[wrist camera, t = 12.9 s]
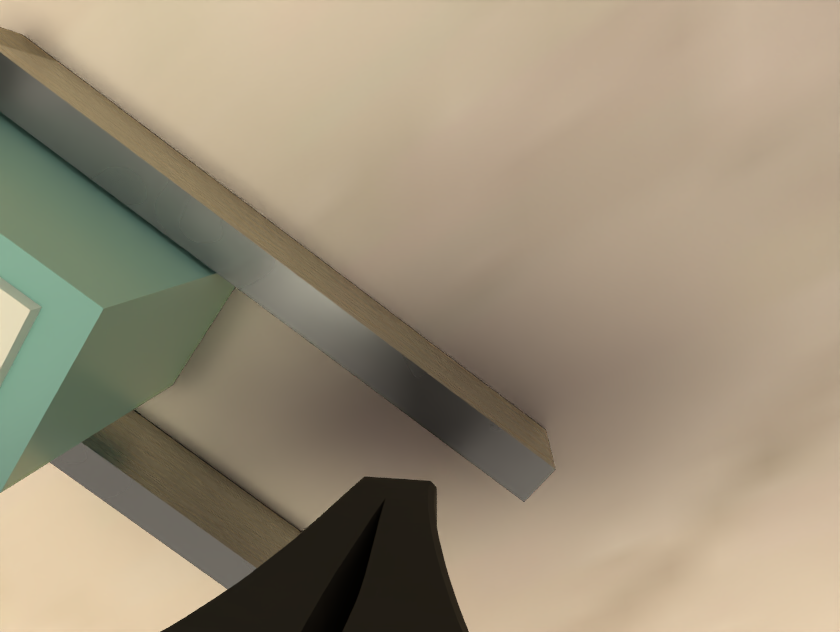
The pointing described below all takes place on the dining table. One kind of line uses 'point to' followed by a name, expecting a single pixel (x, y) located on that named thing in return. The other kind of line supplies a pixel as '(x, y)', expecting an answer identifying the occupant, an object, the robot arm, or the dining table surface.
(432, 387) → the rail
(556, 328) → the dining table surface
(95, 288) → the module
